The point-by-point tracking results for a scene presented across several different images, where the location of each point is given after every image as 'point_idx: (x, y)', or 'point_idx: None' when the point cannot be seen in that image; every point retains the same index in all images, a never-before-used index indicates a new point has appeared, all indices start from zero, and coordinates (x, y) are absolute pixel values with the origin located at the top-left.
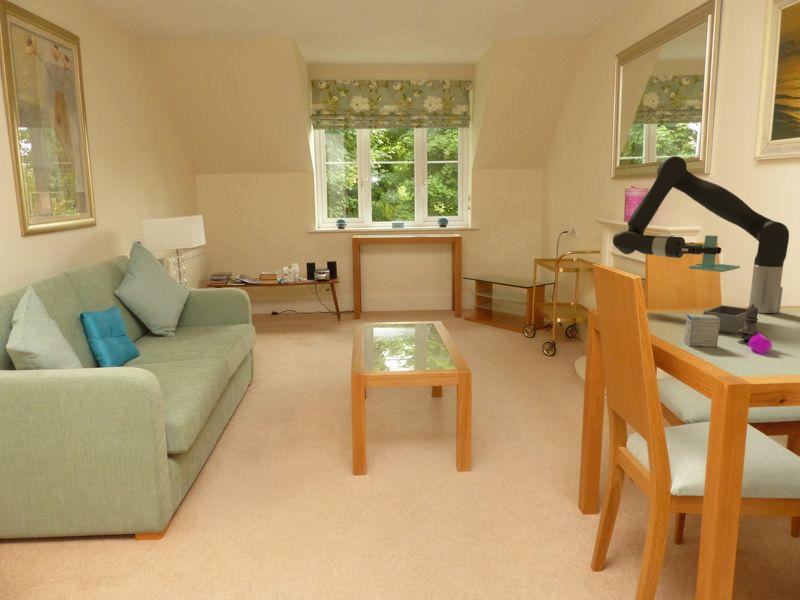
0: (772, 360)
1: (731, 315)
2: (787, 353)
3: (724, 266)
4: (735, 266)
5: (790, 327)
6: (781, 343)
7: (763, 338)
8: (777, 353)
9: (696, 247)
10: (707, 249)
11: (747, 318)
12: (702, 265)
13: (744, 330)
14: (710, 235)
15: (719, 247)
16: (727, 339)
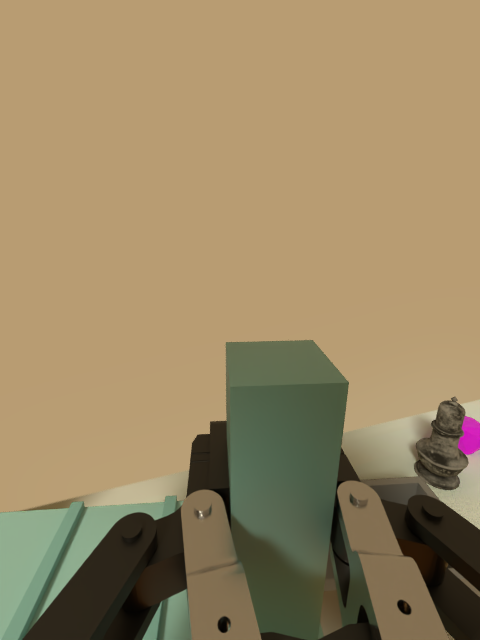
0: (477, 421)
1: (429, 489)
2: (413, 422)
3: (79, 560)
4: (31, 516)
5: (185, 475)
6: (360, 443)
7: (469, 417)
8: (432, 428)
9: (477, 536)
10: (350, 472)
11: (461, 429)
12: (316, 637)
13: (460, 453)
14: (229, 374)
15: (224, 422)
16: (468, 512)
